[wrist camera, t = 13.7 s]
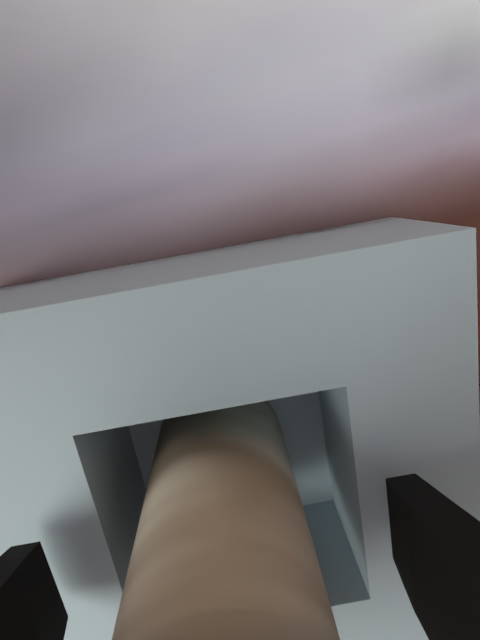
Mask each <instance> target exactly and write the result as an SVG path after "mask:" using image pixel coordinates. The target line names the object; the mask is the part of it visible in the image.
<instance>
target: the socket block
mask: <svg viewBox="0 0 480 640" xmlns="http://www.w3.org/2000/svg"><path fill="white" fill-rule="evenodd" d="M263 401H267V402H268V403H269V404H270V406H271V407H272V408H273V410H274V411H275V413H276V415H277V417H278V420H279V423H280V426H281V430H282V433H283V437H284V440H285V444H286V448H287V451H288V455H289V458H290V462H291V466H292V469H293V473H294V476H295V480H296V483H297V487H298V491H299V494H300V498H301V501H302V505H303V509H304V512H305V516H306V519H307V523H308V526H309V530H310V534H311V537H312V541H313V544H314V548H315V552H316V555H317V559H318V562H319V566H320V569H321V573H322V577H323V580H324V584H325V587H326V591H327V595H328V598H329V602H330V605H331V609H332V612H333V616H334V620H335V623H336V627H337V630H338V634H339V638H340V640H429V639H428V637H427V635H426V633H425V631H424V629H423V627H422V625H421V623H420V621H419V620H418V618H417V616H416V614H415V612H414V609H413V607H412V605H411V602H410V600H409V597H408V595H407V592H406V590H405V588H404V585H403V583H402V580H401V577H400V575H399V572H398V570H397V567H396V565H395V562H394V560H393V554H392V543H391V532H390V521H389V510H388V499H387V488H386V478H392V477H397V476H403V475H408V474H414V473H415V474H417V475H418V476H419V477H421V478H422V479H423V480H425V481H426V482H428V483H429V484H430V485H432V486H433V487H434V488H436V489H437V490H438V491H440V492H441V493H442V494H444V495H445V496H446V497H448V498H449V499H450V500H452V501H453V502H454V503H456V504H457V505H458V506H460V507H461V508H462V509H464V510H465V511H466V512H468V513H469V514H470V515H472V516H473V517H475V518H476V519H477V520H479V521H480V415H479V362H478V309H477V255H476V228H474V227H466V226H458V225H451V224H443V223H435V222H427V221H420V220H412V219H404V218H397V217H388V218H382V219H377V220H371V221H366V222H360V223H355V224H349V225H344V226H338V227H333V228H327V229H322V230H316V231H311V232H305V233H300V234H294V235H288V236H283V237H277V238H272V239H266V240H261V241H255V242H250V243H244V244H239V245H233V246H228V247H222V248H217V249H211V250H206V251H200V252H195V253H189V254H183V255H178V256H172V257H167V258H161V259H156V260H150V261H145V262H139V263H134V264H128V265H123V266H117V267H112V268H106V269H101V270H95V271H90V272H84V273H79V274H73V275H67V276H62V277H56V278H51V279H45V280H40V281H34V282H29V283H23V284H18V285H12V286H7V287H1V288H0V556H1V555H2V554H3V553H4V552H5V551H7V550H8V549H9V548H10V547H12V546H17V545H23V544H28V543H34V542H39V541H40V542H41V545H42V548H43V550H44V553H45V556H46V558H47V561H48V564H49V566H50V569H51V572H52V574H53V577H54V580H55V582H56V585H57V588H58V590H59V593H60V596H61V598H62V601H63V604H64V606H65V609H66V612H67V614H68V621H67V626H66V631H65V636H64V640H112V636H113V632H114V628H115V623H116V619H117V615H118V610H119V606H120V602H121V597H122V593H123V589H124V584H125V580H126V576H127V571H128V567H129V563H130V559H131V554H132V550H133V546H134V541H135V537H136V533H137V528H138V524H139V520H140V515H141V511H142V507H143V502H144V498H145V494H146V489H147V485H148V481H149V476H150V472H151V468H152V464H153V459H154V455H155V451H156V446H157V442H158V438H159V433H160V429H161V425H162V422H163V419H169V418H174V417H180V416H185V415H191V414H197V413H202V412H208V411H213V410H219V409H224V408H230V407H235V406H241V405H246V404H252V403H257V402H263Z"/></svg>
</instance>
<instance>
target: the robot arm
mask: <svg viewBox="0 0 480 640" xmlns="http://www.w3.org/2000/svg"><path fill="white" fill-rule="evenodd" d="M386 488H387V499H388V510H389V521H390V532H391V543H392V554H393V560H394V562H395V565H396V567H397V570H398V572H399V575H400V577H401V580H402V583H403V585H404V588H405V590H406V592H407V595H408V597H409V600H410V602H411V605H412V607H413V609H414V612H415V614H416V616H417V618H418V620H419V621H420V623H421V625H422V627H423V629H424V631H425V633H426V635H427V637H428V639H429V640H480V521H479V520H477V519H476V518H475V517H473V516H472V515H470V514H469V513H468V512H466V511H465V510H464V509H462V508H461V507H460V506H458V505H457V504H456V503H454V502H453V501H452V500H450V499H449V498H448V497H446V496H445V495H444V494H442V493H441V492H440V491H438V490H437V489H436V488H434V487H433V486H432V485H430V484H429V483H428V482H426V481H425V480H423V479H422V478H421V477H419V476H418V475H417V474H415V473H414V474H408V475H403V476H397V477H392V478H386ZM67 621H68V614H67V612H66V609H65V606H64V604H63V601H62V598H61V596H60V593H59V590H58V588H57V585H56V582H55V580H54V577H53V574H52V572H51V569H50V566H49V564H48V561H47V558H46V556H45V553H44V550H43V548H42V545H41V542H40V541H39V542H34V543H28V544H23V545H17V546H12V547H10V548H9V549H8V550H7V551H5V552H4V553H3V554H2V555H1V556H0V640H64V636H65V631H66V626H67Z"/></svg>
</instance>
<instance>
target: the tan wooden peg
mask: <svg viewBox="0 0 480 640" xmlns="http://www.w3.org/2000/svg"><path fill="white" fill-rule="evenodd" d="M112 640H340V638H339V634H338V630H337V627H336V623H335V620H334V616H333V612H332V609H331V605H330V602H329V598H328V595H327V591H326V587H325V584H324V580H323V577H322V573H321V569H320V566H319V562H318V559H317V555H316V552H315V548H314V544H313V541H312V537H311V534H310V530H309V526H308V523H307V519H306V516H305V512H304V509H303V505H302V501H301V498H300V494H299V491H298V487H297V483H296V480H295V476H294V473H293V469H292V466H291V462H290V458H289V455H288V451H287V448H286V444H285V440H284V437H283V433H282V430H281V426H280V423H279V420H278V417H277V415H276V413H275V411H274V410H273V408H272V407H271V406H270V404H269V403H268V402H267V401H263V402H257V403H252V404H246V405H241V406H235V407H230V408H224V409H219V410H213V411H208V412H202V413H197V414H191V415H185V416H180V417H174V418H169V419H163V422H162V425H161V429H160V433H159V438H158V442H157V446H156V451H155V455H154V459H153V464H152V468H151V472H150V476H149V481H148V485H147V489H146V494H145V498H144V502H143V507H142V511H141V515H140V520H139V524H138V528H137V533H136V537H135V541H134V546H133V550H132V554H131V559H130V563H129V567H128V571H127V576H126V580H125V584H124V589H123V593H122V597H121V602H120V606H119V610H118V615H117V619H116V623H115V628H114V632H113V636H112Z"/></svg>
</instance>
